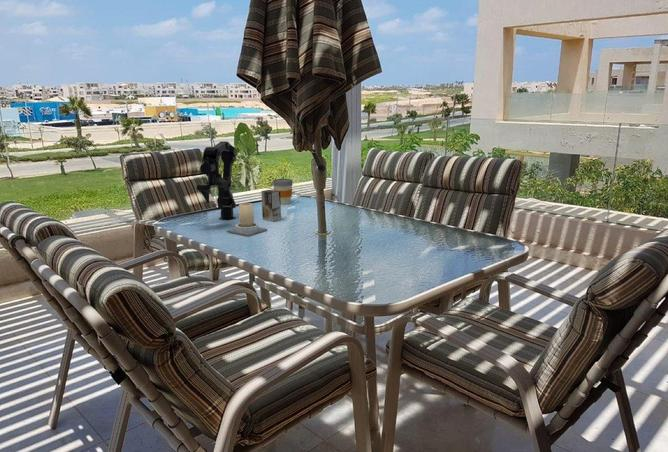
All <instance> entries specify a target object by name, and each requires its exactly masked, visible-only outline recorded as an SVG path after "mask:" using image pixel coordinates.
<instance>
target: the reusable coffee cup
mask: <svg viewBox="0 0 668 452" xmlns="http://www.w3.org/2000/svg"><path fill="white" fill-rule="evenodd" d="M272 186H273V189H272V190H275V191H280V201H281V206H288V205H290V204H291V198H292V193H293V179H289V178H277V179H273V180H272Z"/></svg>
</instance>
